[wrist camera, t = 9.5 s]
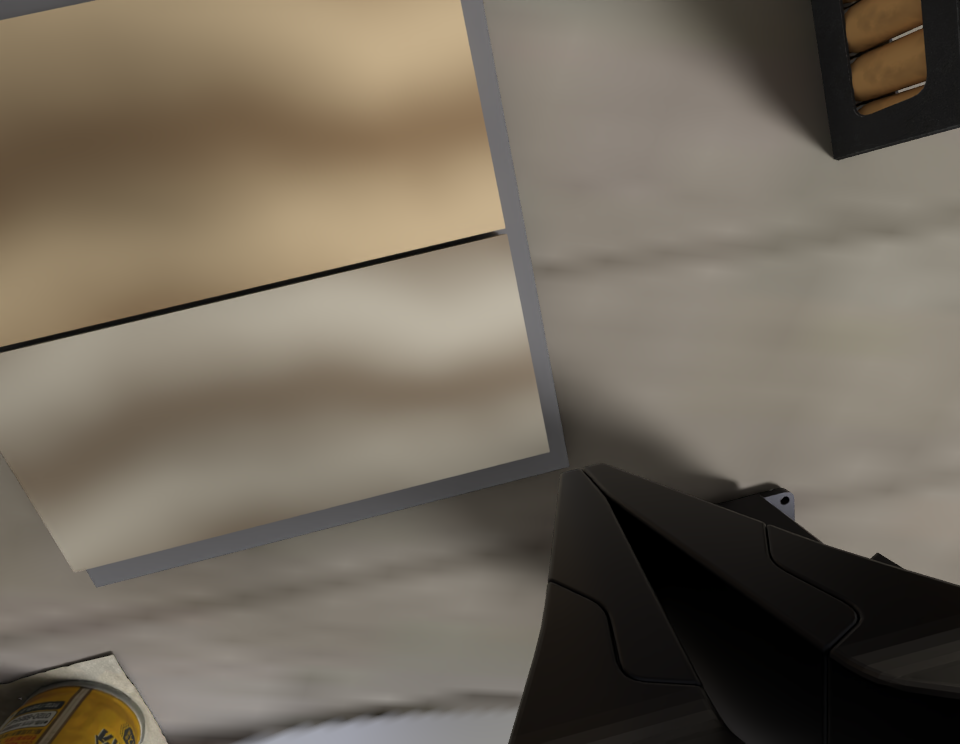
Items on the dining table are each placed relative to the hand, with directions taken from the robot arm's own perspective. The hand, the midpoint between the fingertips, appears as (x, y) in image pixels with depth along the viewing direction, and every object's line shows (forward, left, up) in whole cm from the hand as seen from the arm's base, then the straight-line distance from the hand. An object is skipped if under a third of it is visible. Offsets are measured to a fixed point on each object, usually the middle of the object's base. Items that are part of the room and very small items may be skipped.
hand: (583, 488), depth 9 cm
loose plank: (0, +9, -11) cm, 14 cm away
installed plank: (+9, +9, -11) cm, 17 cm away
